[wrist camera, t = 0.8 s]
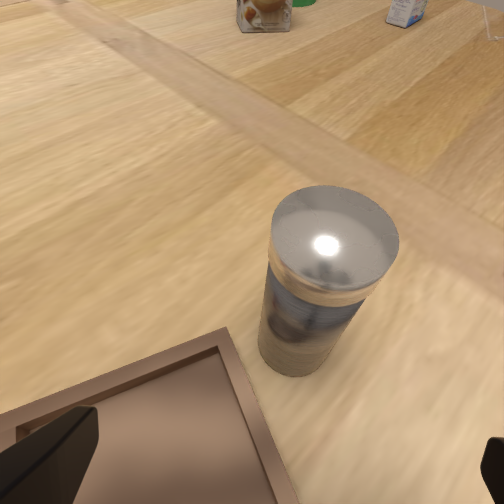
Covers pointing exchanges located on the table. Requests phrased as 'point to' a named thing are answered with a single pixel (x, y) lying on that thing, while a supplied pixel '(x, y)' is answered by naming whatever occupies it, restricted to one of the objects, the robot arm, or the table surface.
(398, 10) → the medicine box
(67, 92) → the table surface
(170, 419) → the tray
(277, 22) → the coffee box
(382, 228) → the shaker
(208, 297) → the table surface
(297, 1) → the tape roll
